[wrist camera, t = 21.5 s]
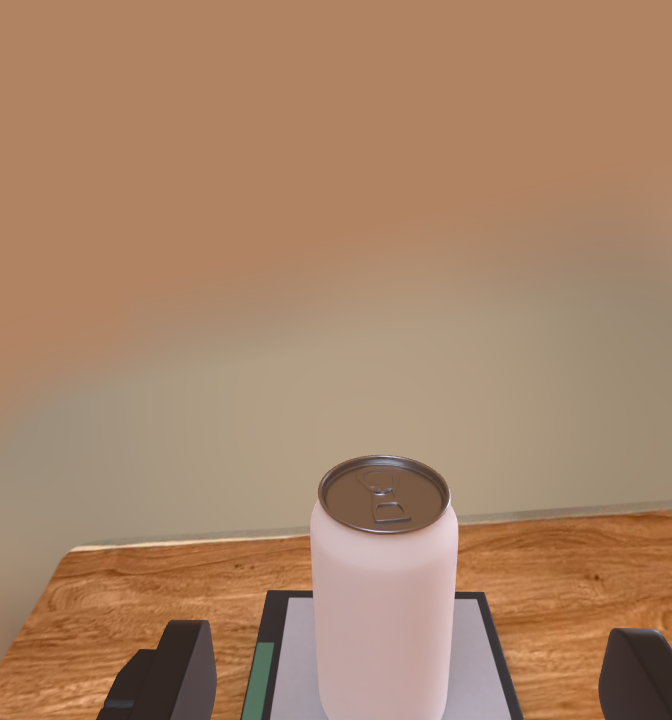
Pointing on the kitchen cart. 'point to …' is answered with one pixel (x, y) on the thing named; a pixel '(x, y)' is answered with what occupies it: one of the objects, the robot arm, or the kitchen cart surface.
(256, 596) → the kitchen cart surface
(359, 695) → the can
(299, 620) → the scale
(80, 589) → the kitchen cart surface
